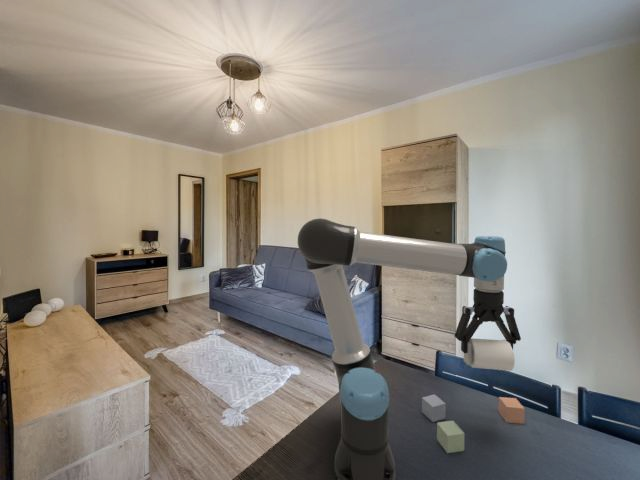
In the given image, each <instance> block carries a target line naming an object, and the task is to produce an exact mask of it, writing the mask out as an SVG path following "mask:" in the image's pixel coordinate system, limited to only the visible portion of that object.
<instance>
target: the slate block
mask: <svg viewBox="0 0 640 480" xmlns="http://www.w3.org/2000/svg"><path fill="white" fill-rule="evenodd" d="M446 407H447V404H446V402H445V401H443V400H442V399H441V398H440V397H438V396H437V395H436V394H430V395H427V396H423V397H421V413H422V414H423V415H425V417H426V418H428V419H429V420H430V421H431V422H432V423H435V422H439V421H441V420H445V419H446V418H447V417H446V413H447V412H446V411H447V409H446Z"/></svg>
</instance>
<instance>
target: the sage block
mask: <svg viewBox="0 0 640 480" xmlns="http://www.w3.org/2000/svg"><path fill="white" fill-rule="evenodd" d="M465 435H466V434H465V432H464V431H463V430H462V429H461V428H460V427H459V425H458V424H457V423H456V422H455V421H454V420H448V421H441V422H440V421H438V422H437V423H436V440H437V442H438V443H439V444H440V446H441V447H442V448H443V449H444V451H445V452H446V454H450V453H451V454H452V453H458V452H459V453H460V452H464V451H465Z"/></svg>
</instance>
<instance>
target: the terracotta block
mask: <svg viewBox="0 0 640 480" xmlns="http://www.w3.org/2000/svg"><path fill="white" fill-rule="evenodd" d="M525 411H526V409H525V407H524V406H523V405H522V403H520V401H519V400H518V399H517V398H516V397H506V396H505V397H502V396H499V397H498V413H499V414H500V415H501V417H502V419H503V420H504V421H505V422H506V423H509V424H511V423H512V424H520V425H521V424H523V425H525Z"/></svg>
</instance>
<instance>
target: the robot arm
mask: <svg viewBox="0 0 640 480" xmlns="http://www.w3.org/2000/svg"><path fill="white" fill-rule="evenodd" d="M297 246H298V250H299V252H300V253H301V255H302V256H303V257H304V261H305V263H306V264H305V265H306V269H307V271H309V272H310V273H312V274H313V275H314V278H315V281H316V285H317V288H318V292H319V297H320V300H321V303H322V306H323V311H324V314H325V318H326V321H327V325H328V329H329V332H330V337H331V340H332V344H333V346H334V347H333V348H334V351H333V353H332V354H331V359H332V363H333V367H334V371H335V374H336V378H337V383H338V392H339V401H340V425H341V426H340V433H341V434H340V439H339V441H338V442H339V443H338V445H337V448H336V451H335V455H334V474H335V473H336V474H335V477H336V476H337V477H336V479H337V478H338V479H339V480H396V463H395V459H394V455H393V453H392V449H391V446H390V444H389V403H390V393H389V388H388V387H389V386H388V383H387V381H386V379H385V378H384V377H383V376H382V375H381V374H380V373H379V372H377V370H376V366H375V363H374V359H373V356H372V351H371V348H370V346H369V345H368V344H366V343H364V341H363V338H362V333H361V330H360V326H359V322H358V319H357V315H356V312H355V308H354V305H353V304H354V303H353V299H352V296H351V293H350V289H349V285H348V281H347V277H346V273H345V270H344V266H349V267H351V266H352V265H354V264H355V263H357V264H367V265H373V266H374V265H375V266H381V267H388V268H389V267H390V268H398V269H403V270H404V269H406V270H414V271H421V272H429V273H430V272H431V273H436V274H437V273H439V274H445V275H452V276H459V277H464V278H466V277H467V278H473V287H474V289H473V305H472V306H466V305H463V306H462V309H461V310H462V311H461V315H460V316H461V317H460V319H459V321H458V324H457V327H456V329H455V333H454V335H453V336H454V338H456V340H458V341H459V342H460V350H461V352H462V353H463V362H464V363H465V364H466V365H467V366H470V365H471V343H470V342H469V340H470V339H471V338H473V336H474V334H475V333H476V331H477V330H478V329H479V327H480V325H483V323H487V322H491V323H495V325H496V326H497V328H498V329H499V331H500V332H501V334H502V335H503V337H504V340H505V341H507V342H509V344H510V345H511V347H512V349H513V350H514V345H516V344H517V341H519V342H520V341H521V340H522V338H521V334H520V332H519V327H518V324H517V322H516V318H515V308H513V307H511V306H509V305H506V306H503V305H504V303H505V301H504V299H505V298H504V297H505V296H504V295H505V293H504V291H503V290H504V289H505V286H504V285H505V274H506V273H507V269H508V260H507V258H506V253H507V252H506V240H505V239H504V238H503V237H501V236H494V235H493V236H492V235H489V236H488V235H486V236H485V235H484V236H483V235H482V236H476V237H475V238H474V242H472V243H450V242H444V241H443V242H442V241H433V240H427V239H419V238H412V237H411V238H410V237H403V236H396V235H389V234H388V235H387V234H380V233H374V232H366V231H365V232H364V231H360V230H359V229H358V228H357V227H356V226H351V225H344V224H341V223H337V222H334V221H331V220H329V219H327V218H322V217H321V218H314V219H311V220H308V221H307V222H306V223H304V225H302V227H301V228H300V230H299V232H298V235H297ZM473 313H474V314H473ZM502 314H504V317H505V320H506V324H505V323H504V322H505V321H504V320H503V318H502V317H501V315H502ZM472 315H473V316H472ZM471 316H472V317H471ZM506 325H507V326H506ZM338 479H337V480H338Z"/></svg>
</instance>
